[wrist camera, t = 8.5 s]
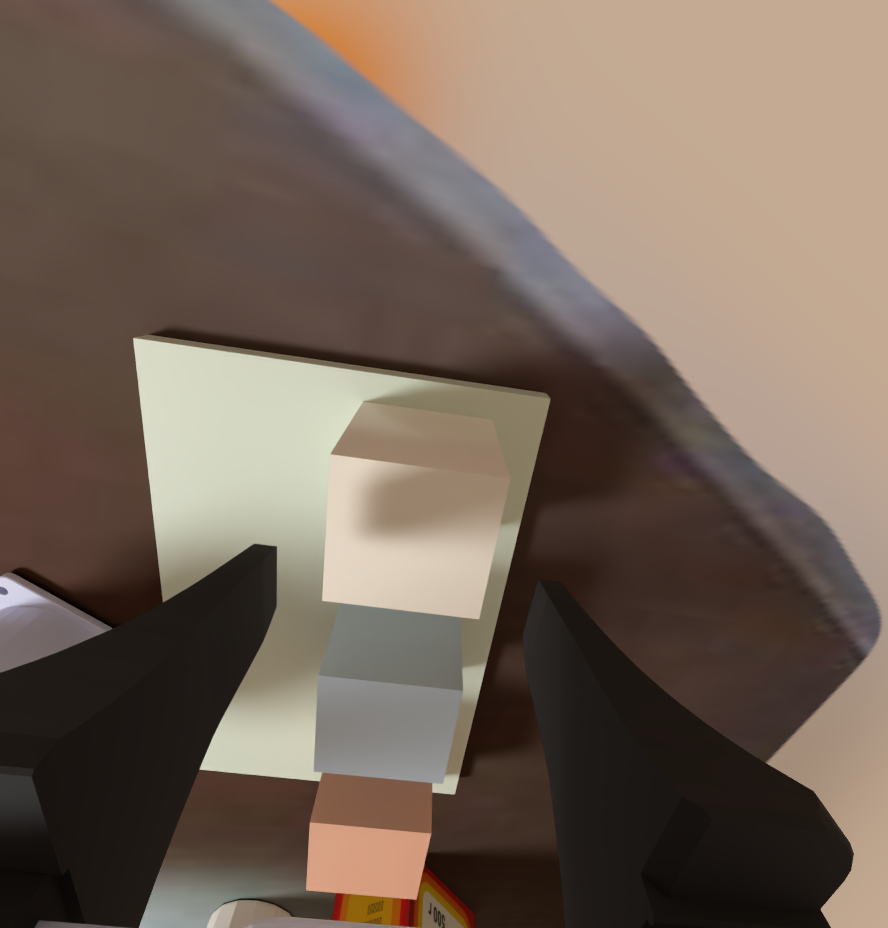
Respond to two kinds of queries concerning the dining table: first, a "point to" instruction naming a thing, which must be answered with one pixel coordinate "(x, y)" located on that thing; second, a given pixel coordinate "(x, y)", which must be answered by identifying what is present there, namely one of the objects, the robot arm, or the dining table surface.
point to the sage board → (295, 514)
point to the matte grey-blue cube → (389, 694)
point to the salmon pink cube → (369, 836)
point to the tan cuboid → (413, 511)
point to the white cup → (244, 913)
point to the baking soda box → (408, 907)
